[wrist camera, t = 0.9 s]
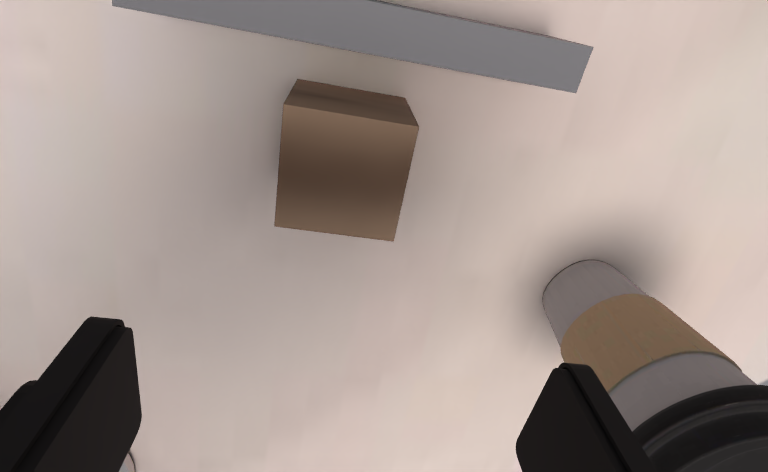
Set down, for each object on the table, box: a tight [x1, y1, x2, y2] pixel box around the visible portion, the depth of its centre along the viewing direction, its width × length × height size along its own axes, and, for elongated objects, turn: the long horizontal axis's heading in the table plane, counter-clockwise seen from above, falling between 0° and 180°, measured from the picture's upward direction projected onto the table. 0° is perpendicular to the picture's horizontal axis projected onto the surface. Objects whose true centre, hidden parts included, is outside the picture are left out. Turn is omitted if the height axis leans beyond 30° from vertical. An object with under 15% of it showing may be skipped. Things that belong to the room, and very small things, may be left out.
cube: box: [274, 79, 419, 241], centre depth 23 cm, size 6×6×6 cm
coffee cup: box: [543, 260, 768, 472], centre depth 26 cm, size 9×9×15 cm
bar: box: [112, 0, 593, 93], centre depth 21 cm, size 2×20×5 cm, turn 80°
